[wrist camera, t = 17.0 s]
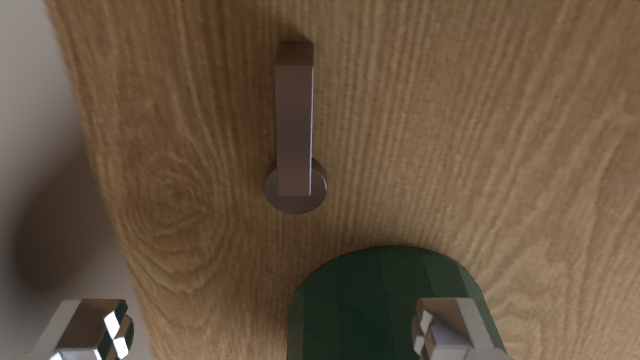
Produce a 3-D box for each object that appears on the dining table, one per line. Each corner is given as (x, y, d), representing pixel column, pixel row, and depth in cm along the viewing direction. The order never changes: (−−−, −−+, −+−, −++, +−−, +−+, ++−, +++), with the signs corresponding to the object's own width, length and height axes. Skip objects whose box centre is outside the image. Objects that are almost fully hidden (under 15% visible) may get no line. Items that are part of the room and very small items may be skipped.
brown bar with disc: (258, 40, 19) (250, 63, 16) (333, 42, 19) (337, 65, 17) (266, 202, 24) (261, 238, 22) (325, 203, 24) (326, 239, 22)
